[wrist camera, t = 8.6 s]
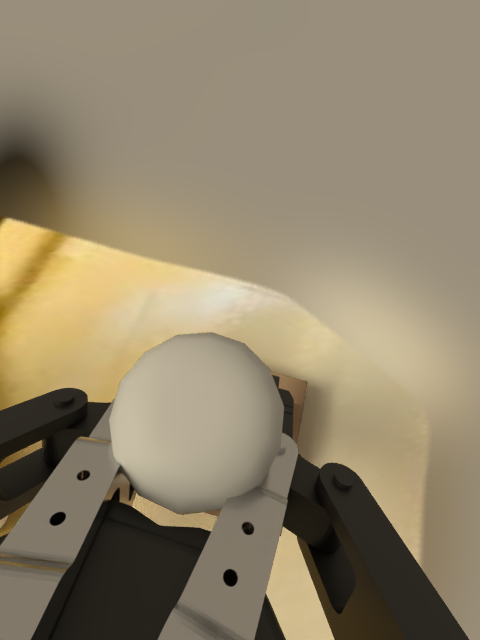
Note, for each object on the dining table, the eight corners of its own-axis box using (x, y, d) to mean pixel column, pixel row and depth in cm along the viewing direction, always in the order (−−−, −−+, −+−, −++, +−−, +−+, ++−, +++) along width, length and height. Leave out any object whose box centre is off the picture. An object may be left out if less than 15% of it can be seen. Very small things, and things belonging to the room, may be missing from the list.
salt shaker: (239, 376, 20) (241, 259, 8) (288, 456, 18) (383, 455, 6) (159, 423, 19) (27, 364, 7) (202, 516, 17) (117, 655, 5)
